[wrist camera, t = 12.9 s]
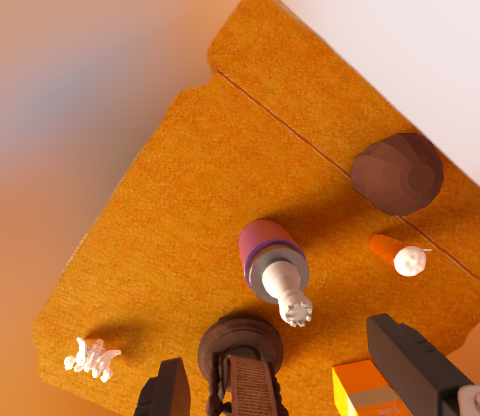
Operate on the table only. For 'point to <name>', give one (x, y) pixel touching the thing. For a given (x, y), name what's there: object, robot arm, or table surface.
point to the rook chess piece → (287, 292)
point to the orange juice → (364, 391)
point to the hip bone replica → (92, 359)
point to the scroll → (242, 367)
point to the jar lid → (273, 255)
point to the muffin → (399, 174)
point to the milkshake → (399, 254)
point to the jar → (261, 240)
